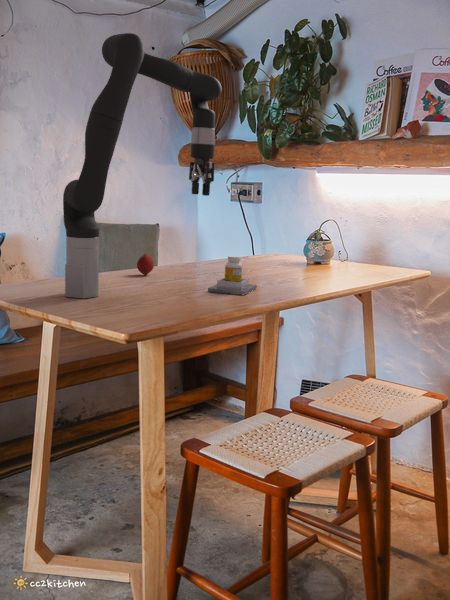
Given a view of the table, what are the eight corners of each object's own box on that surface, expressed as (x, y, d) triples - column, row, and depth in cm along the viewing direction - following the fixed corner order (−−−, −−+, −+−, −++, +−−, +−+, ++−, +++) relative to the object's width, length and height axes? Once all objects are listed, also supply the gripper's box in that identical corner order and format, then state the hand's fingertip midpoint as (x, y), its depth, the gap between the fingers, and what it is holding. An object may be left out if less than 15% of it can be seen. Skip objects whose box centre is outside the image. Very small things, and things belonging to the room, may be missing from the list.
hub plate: (244, 295, 210) (245, 284, 210) (207, 291, 214) (208, 281, 213) (256, 288, 223) (257, 278, 223) (221, 285, 227) (222, 275, 226)
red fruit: (145, 277, 236) (145, 254, 235) (133, 275, 240) (133, 252, 238) (156, 275, 241) (157, 253, 239) (144, 273, 244) (145, 251, 243)
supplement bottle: (221, 285, 220) (223, 255, 218) (237, 284, 222) (238, 255, 220) (227, 288, 215) (229, 257, 213) (243, 287, 217) (245, 257, 215)
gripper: (223, 143, 212) (220, 196, 215) (204, 144, 224) (201, 194, 227) (201, 141, 208) (198, 195, 211) (183, 142, 221) (181, 193, 224)
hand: (200, 194), depth 219 cm, fingers open, 8 cm apart
